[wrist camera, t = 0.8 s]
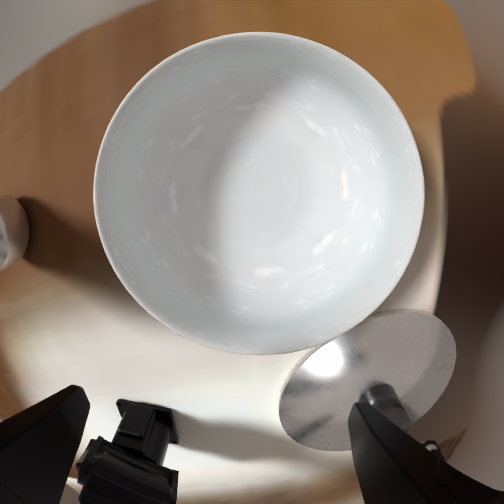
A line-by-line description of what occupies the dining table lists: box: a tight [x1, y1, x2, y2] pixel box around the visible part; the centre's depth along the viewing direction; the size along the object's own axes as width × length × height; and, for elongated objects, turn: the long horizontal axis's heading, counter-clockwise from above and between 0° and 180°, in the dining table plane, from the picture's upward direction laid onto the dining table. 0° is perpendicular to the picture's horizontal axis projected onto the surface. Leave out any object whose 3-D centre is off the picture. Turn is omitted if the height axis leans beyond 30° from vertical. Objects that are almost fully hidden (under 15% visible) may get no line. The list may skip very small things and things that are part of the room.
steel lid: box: [279, 309, 456, 451], centre depth 21 cm, size 20×20×6 cm
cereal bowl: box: [93, 32, 425, 355], centre depth 15 cm, size 17×17×7 cm
